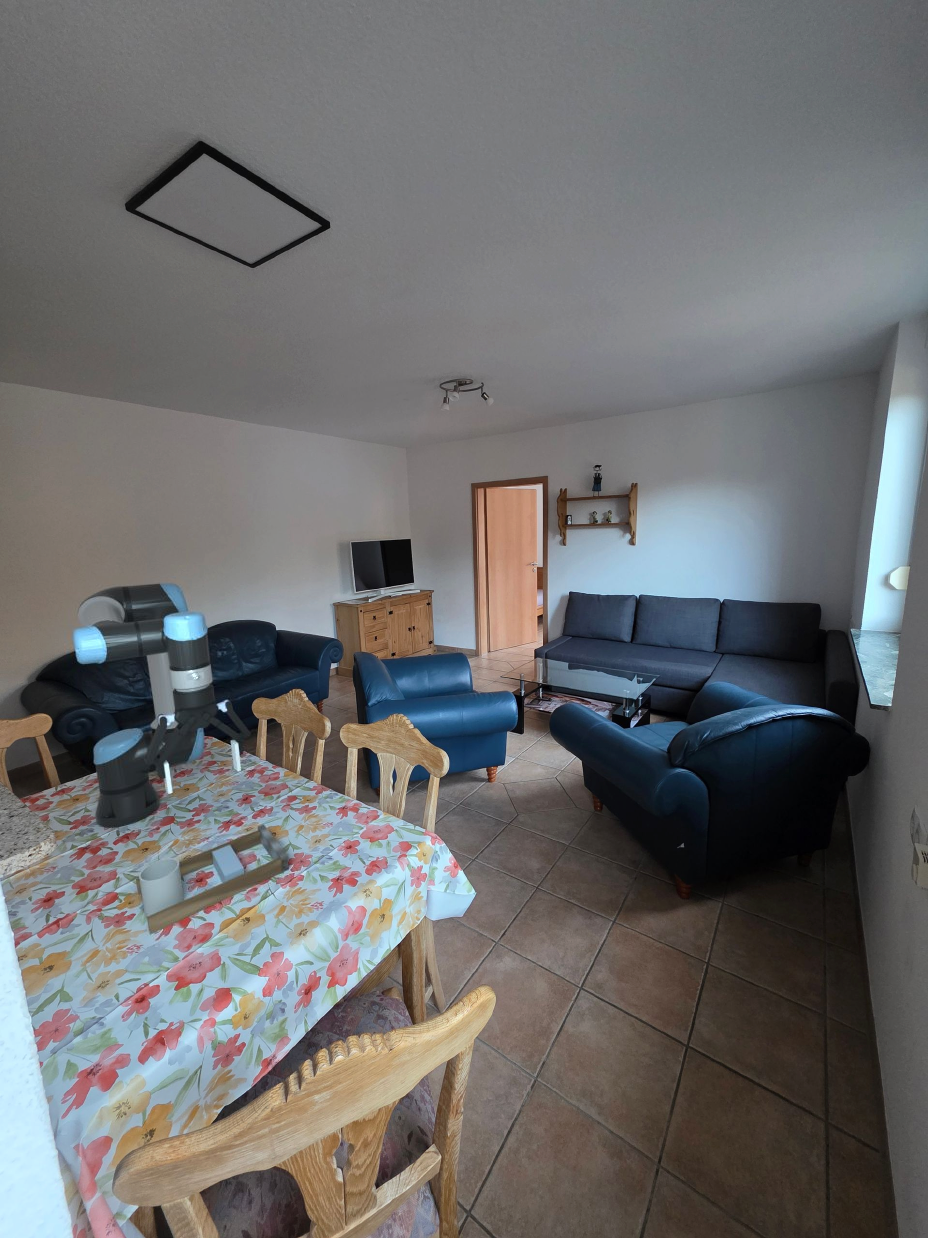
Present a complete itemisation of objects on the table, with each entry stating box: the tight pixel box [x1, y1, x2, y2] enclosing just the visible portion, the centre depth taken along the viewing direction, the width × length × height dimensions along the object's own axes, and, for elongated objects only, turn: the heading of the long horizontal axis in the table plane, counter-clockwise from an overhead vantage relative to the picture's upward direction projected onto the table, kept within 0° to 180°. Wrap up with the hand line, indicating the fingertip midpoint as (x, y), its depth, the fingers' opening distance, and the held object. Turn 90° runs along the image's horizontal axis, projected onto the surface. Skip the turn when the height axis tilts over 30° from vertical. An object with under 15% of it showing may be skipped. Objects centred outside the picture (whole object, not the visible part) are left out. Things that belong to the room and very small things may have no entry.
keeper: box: [212, 845, 245, 884], centre depth 113 cm, size 11×4×4 cm, turn 40°
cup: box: [138, 857, 185, 917], centre depth 104 cm, size 7×10×9 cm
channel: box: [135, 823, 289, 935], centre depth 111 cm, size 16×28×4 cm, turn 131°
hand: (204, 779), depth 106 cm, fingers open, 13 cm apart
